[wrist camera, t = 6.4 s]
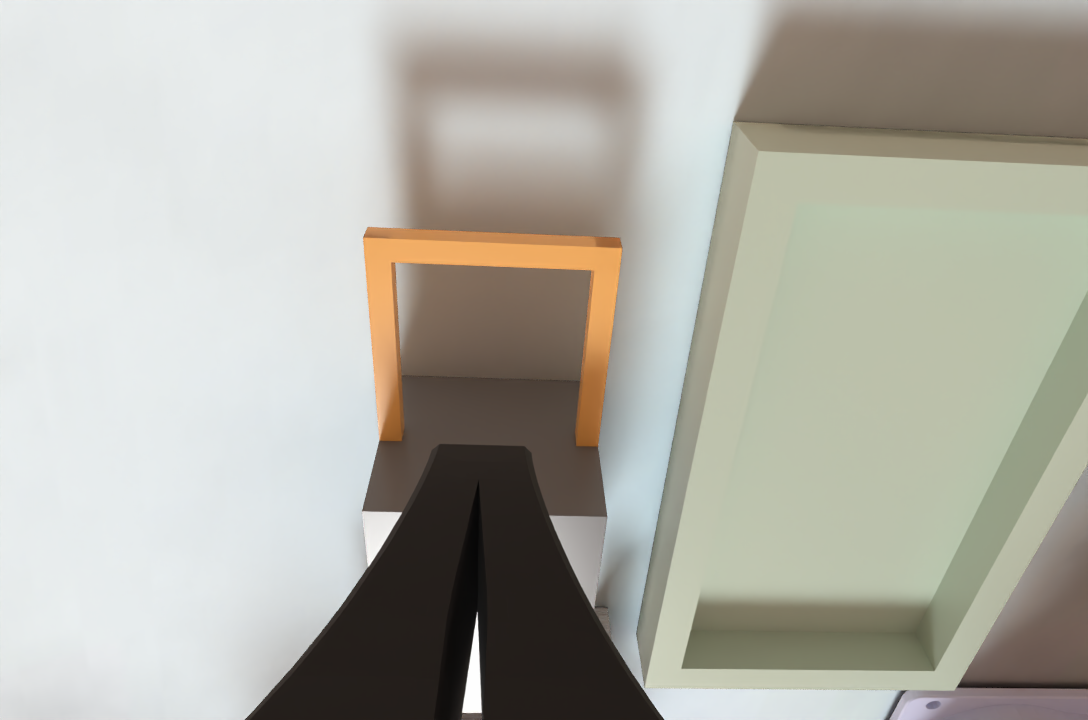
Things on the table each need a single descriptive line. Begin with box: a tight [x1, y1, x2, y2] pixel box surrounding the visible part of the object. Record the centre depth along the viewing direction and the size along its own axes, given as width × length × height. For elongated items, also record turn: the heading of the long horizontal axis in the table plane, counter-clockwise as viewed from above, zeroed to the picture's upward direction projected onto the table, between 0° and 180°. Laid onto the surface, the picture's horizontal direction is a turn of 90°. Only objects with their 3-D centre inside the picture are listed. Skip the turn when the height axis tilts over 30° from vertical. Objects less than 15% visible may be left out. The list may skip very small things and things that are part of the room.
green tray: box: [636, 122, 1088, 691], centre depth 20 cm, size 10×17×2 cm, turn 177°
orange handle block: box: [362, 227, 622, 713], centre depth 18 cm, size 5×12×5 cm, turn 177°
